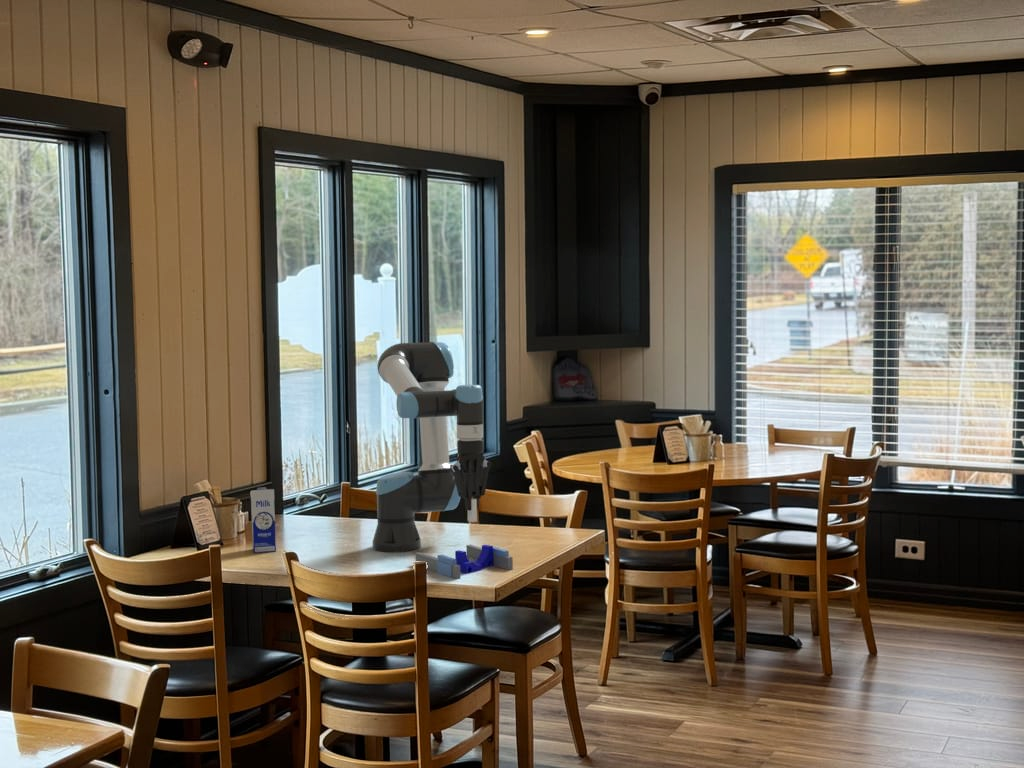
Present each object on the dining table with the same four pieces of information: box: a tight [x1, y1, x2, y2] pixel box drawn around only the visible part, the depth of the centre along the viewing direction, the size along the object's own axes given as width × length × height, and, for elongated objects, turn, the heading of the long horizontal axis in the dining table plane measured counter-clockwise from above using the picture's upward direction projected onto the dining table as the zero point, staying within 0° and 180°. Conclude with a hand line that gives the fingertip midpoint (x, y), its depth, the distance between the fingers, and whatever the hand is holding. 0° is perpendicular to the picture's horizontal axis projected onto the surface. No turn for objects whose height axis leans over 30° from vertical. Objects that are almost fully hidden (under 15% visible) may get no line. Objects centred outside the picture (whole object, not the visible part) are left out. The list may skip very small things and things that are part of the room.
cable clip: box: [454, 544, 494, 574], centre depth 345 cm, size 12×4×6 cm, turn 135°
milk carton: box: [249, 486, 277, 554], centre depth 377 cm, size 7×7×20 cm
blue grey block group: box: [415, 544, 514, 580], centre depth 347 cm, size 23×19×5 cm
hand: (472, 521), depth 342 cm, fingers closed
